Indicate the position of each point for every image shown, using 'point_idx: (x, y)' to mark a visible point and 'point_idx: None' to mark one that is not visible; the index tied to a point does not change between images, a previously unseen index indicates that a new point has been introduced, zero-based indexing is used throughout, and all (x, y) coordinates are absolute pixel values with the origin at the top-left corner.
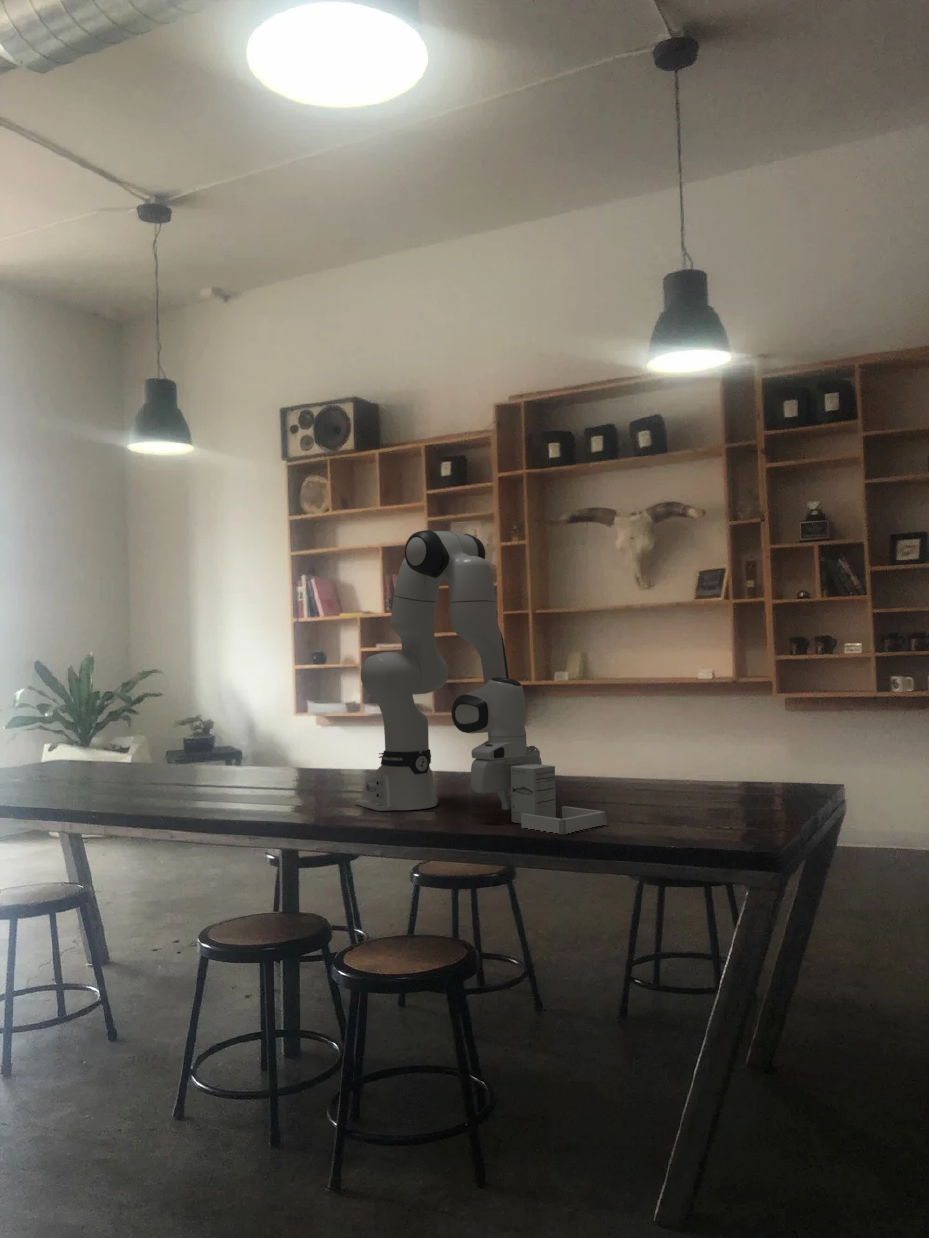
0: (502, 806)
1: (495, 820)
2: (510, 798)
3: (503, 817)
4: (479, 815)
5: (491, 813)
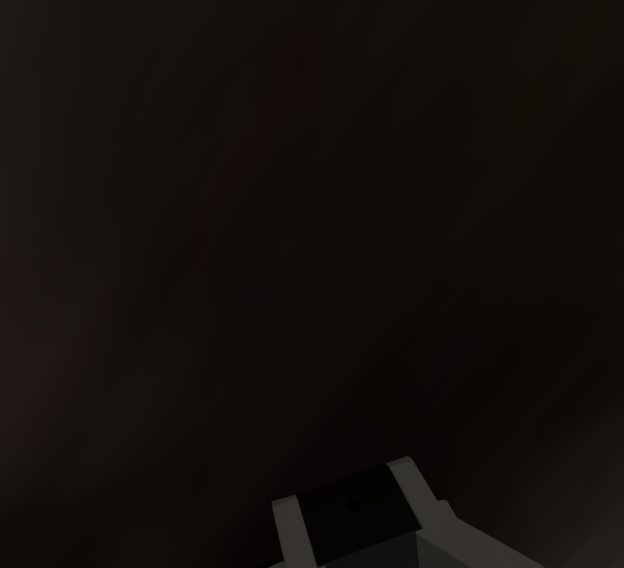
0: (278, 524)
1: (152, 456)
2: (438, 564)
3: (309, 353)
4: (150, 62)
5: (370, 28)
